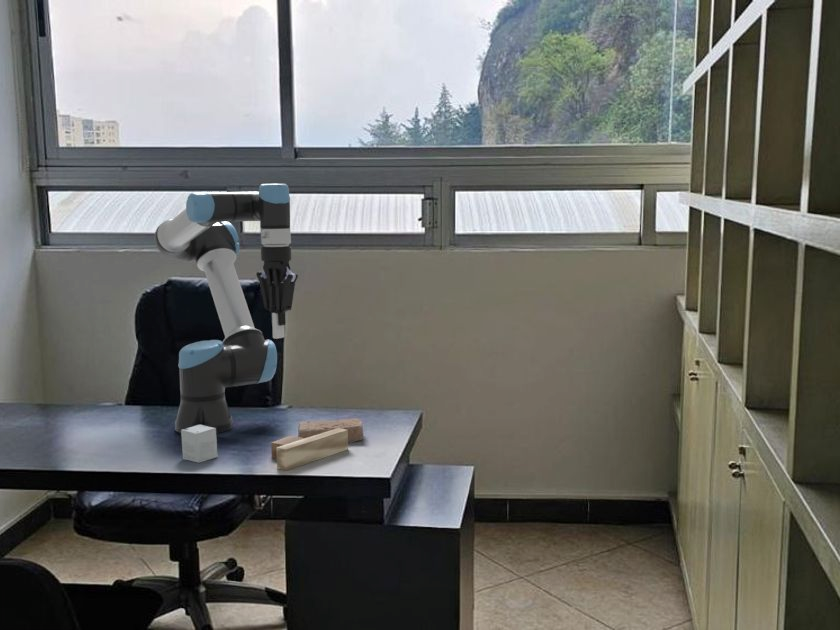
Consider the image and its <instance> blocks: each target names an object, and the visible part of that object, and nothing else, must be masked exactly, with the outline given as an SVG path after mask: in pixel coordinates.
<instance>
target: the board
mask: <svg viewBox="0 0 840 630" xmlns="http://www.w3.org/2000/svg"><path fill="white" fill-rule="evenodd" d="M348 450H349V442H348V430H346V429H342V428H337V429H334V430H330V431H327V432H324V433H321V434H318V435H314V436H311V437H308V438H305V439H302V440H298V441H295V442H292V443H289V444H286V445H282V446H279V447H276V453H277V459H276V468H277V469H278V470H282V471H289V470H293V469H295V468H299V467H301V466H303V465H304V466H305V465H306V464H309V463H313V462H315V461H318V460H321V459H324V458H327V457H329V456H333V455H336V454H339V453H342V452H344V451H348Z"/></svg>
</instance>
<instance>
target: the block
mask: <svg viewBox="0 0 840 630" xmlns="http://www.w3.org/2000/svg"><path fill="white" fill-rule="evenodd" d="M302 439H305V438H300V437H298V436H295V435H288V436H285V437H282V438H281V439H280V438H279V439H277V440H274V441H272V442H270V448H271V449H270V452H271V458H272V459H276V460H277V453H276V447H279V446H282V445H286V444H289V443H292V442H295V441H298V440H302Z"/></svg>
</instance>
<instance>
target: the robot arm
mask: <svg viewBox="0 0 840 630" xmlns="http://www.w3.org/2000/svg"><path fill="white" fill-rule="evenodd" d="M185 204H186V205H185V209H184V210H182V211H181V212H180V213H179V214H177V215H176V216H174V218H170V219H167V220H164V221H163V222H162V223H161V224H160V225H158V226H157V228H156V229H155V232H154V234H153V235H154V236H153V237H154V239H153V240H154V244H155V246H156V248H157V250H158V251H159V252H160V253H161V254H162V255H163V256H164V257H166V258H169V259H170V260H173V261H177V262H189V261H193V262H194V261H195V263H196V266H197V269H199V270H200V271H201V272H204V274H205V277H206V280H207V284H208V286H209V290H210V293H211V296H212V298H213V299H212V300H213V303H214V306H215V309H216V312H217V315H218V319H219V321H220V325H221V328H222V331H223V334H224V339H223V340H219V339H210V340H200V341H195V342H193V343H189V344H187V345H184V346H183V347H182V348H181V349H180V350H179V352H178V364H177V365H178V368H179V369H178V371H179V373H178V374H179V390H180V391H179V392H180V395H179V396H180V403H179V407H178V411H177V416H176V418H175V420H174V426H175V427H174V428H175V429H174V430H175V431H176V433H178V434H181V430H182V429H186V428H189V427H193V426H196V425H204V426H208V427H212V428H216V434H220V433H222V432H223V433H224V432H226V431H229V430H230V429H232V428H233V426H234V425H233V417H232V415H231V414H232V413H231V411H230V408H229V406H228V403H227V400H226V394H225V392H226V391H225V390H226V388H232V387H239V386H240V387H241V386H246V385H254V384H255V385H258V384H260V383H266V382H269V381H271V380H272V379H273V378H274V375H275V374H276V370H277V367H278V366H277V365H278V351H277V347H276V344H275V343H274V342H273V341H272V339H265V337H264V335H263V332H262V331H261V330H260V329H257V328H255V324H254V322H253V319H252V315H251V313H250V310H249V307H248V303H247V300H246V298H245V294H244V291H243V288H242V285H241V282H240V279H239V277H238V274H237V270H236V267H235V262H236V260H237V257H238V256H239V255H238V254H239V253H240V243H239V239H240V238H239V235H238V232H237V230H236V228H235V226H234V225H233V224H232V223H231V222H260V223H259V224H260V225H259V228H260V244H261V245H263V246H261V248H260V257H261V258H260V259H261V261H262V262H263V266H262V270H260V271H257V272H256V277H257V280H258V282H259V286H260V292H261V297H262V301H263V307H264V309H265V310H268V311H269V312H270V323H271V325H272V338H273V339H276V340H278V339H283V338H285V337H286V336H285V333H286V331H285V326H286V321H287V320H286V313H287V312H288V311H291V310H292V307H293V301H294V294H295V293H294V292H295V287H296V282H297V280H298V277H299V276H298V273H294V272H292V270H291V266H290V261H291V260H292V247H291V246H289V245H290V244H291V243H292V238H291V237H292V235H291V196H290V188H289V186H288V184H286V183H261V184H259V187H258V191H256V190H255V191H228V192H227V191H221V192H219V191H212V192H211V191H210V192H209V191H208V192H207V191H201V192H200V191H199V192H191V193H189V195H188V196H187V199H186V202H185Z"/></svg>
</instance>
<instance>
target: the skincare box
mask: <svg viewBox="0 0 840 630" xmlns="http://www.w3.org/2000/svg"><path fill="white" fill-rule="evenodd" d="M180 435H181V448H182V449H181V451H182V459H183V460H186V461H189V462H194V463H198V464H199V463H203V462H206V461H209V460H212V459H215V458H218V443H217V442H218V440H217V433H216V428H212V427H208V426H204V425H196V426H193V427H189V428H186V429H182V430H181V433H180Z"/></svg>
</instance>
